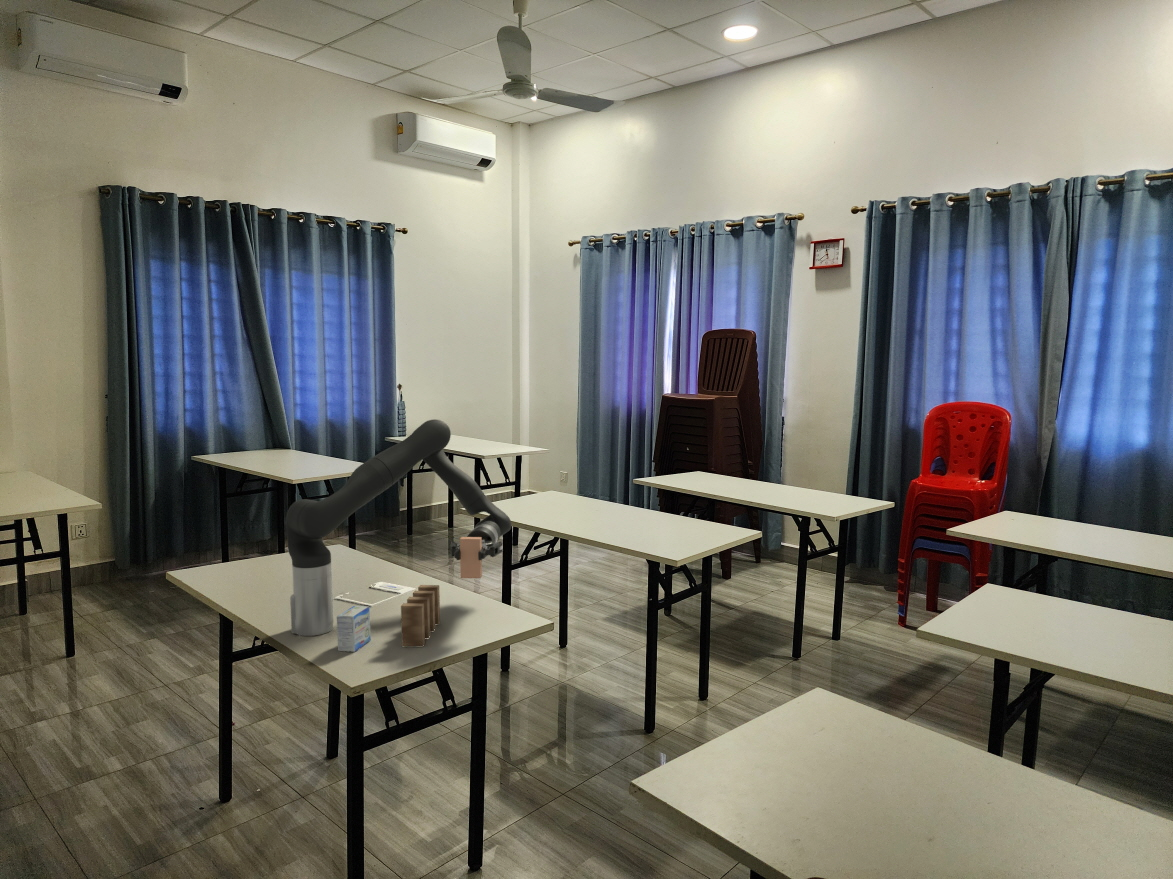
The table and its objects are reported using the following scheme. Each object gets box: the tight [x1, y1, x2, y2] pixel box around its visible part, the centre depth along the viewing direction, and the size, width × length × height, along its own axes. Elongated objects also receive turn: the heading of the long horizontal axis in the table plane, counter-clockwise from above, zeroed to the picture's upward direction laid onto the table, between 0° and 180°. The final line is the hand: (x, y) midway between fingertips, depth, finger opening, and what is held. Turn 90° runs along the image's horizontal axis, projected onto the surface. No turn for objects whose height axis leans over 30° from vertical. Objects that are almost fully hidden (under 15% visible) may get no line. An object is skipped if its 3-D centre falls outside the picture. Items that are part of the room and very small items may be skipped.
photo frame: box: [334, 581, 417, 607], centre depth 218 cm, size 15×1×18 cm
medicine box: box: [336, 605, 371, 653], centre depth 178 cm, size 8×4×9 cm, turn 168°
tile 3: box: [412, 590, 436, 632], centre depth 188 cm, size 5×2×10 cm, turn 87°
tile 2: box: [417, 584, 441, 625], centre depth 193 cm, size 5×2×10 cm, turn 87°
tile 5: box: [400, 602, 426, 647], centre depth 178 cm, size 5×2×10 cm, turn 87°
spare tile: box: [459, 536, 483, 579], centre depth 187 cm, size 5×2×10 cm, turn 87°
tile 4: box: [406, 596, 431, 639], centre depth 183 cm, size 5×2×10 cm, turn 87°
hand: (468, 556), depth 184 cm, fingers closed on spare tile, 5 cm apart
